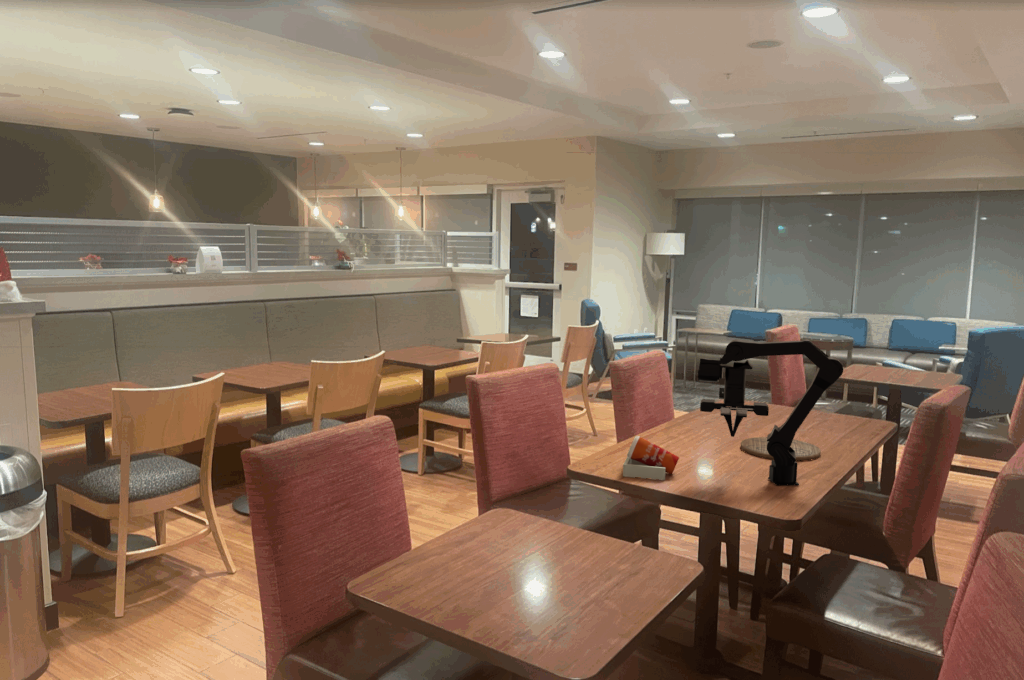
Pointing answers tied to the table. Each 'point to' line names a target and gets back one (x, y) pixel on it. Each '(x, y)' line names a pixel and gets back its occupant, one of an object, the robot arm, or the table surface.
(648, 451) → the paper cup
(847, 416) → the table surface
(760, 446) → the trivet
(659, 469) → the tray
